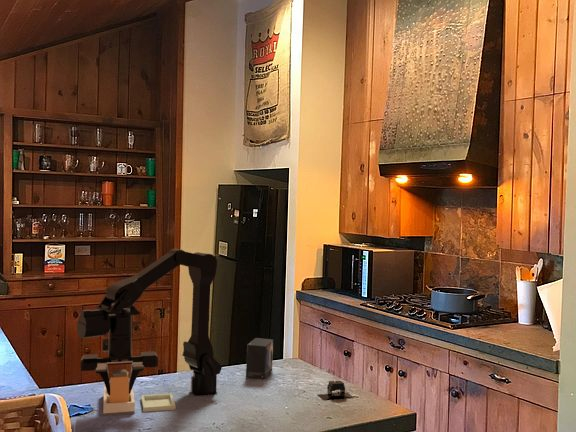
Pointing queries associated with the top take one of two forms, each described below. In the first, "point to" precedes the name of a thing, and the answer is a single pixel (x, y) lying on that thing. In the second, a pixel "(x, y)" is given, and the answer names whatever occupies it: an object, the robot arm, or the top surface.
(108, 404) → the cream slotted rack
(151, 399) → the tray
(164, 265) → the robot arm
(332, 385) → the dark boxy piece
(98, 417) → the top surface
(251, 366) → the small box
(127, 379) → the plug
